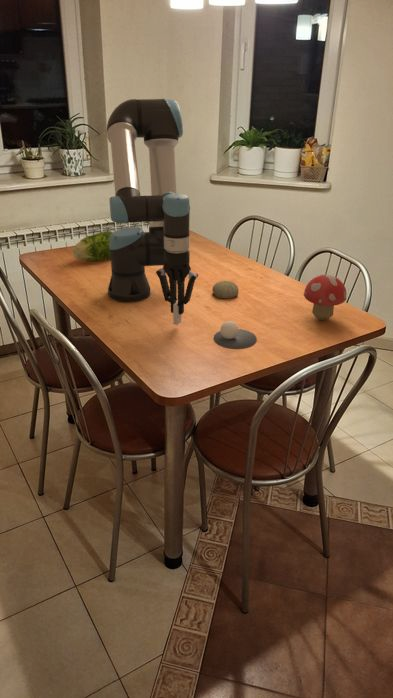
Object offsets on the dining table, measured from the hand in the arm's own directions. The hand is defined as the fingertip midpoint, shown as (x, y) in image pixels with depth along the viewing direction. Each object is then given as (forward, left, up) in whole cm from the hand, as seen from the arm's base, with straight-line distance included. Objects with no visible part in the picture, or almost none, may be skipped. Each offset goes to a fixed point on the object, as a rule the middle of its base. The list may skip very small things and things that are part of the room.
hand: (177, 322), depth 165 cm
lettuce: (-57, +47, -2) cm, 74 cm away
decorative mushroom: (+41, +24, -2) cm, 48 cm away
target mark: (+19, 0, -2) cm, 19 cm away
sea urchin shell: (+5, +32, -2) cm, 32 cm away
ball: (+17, 0, +1) cm, 17 cm away
